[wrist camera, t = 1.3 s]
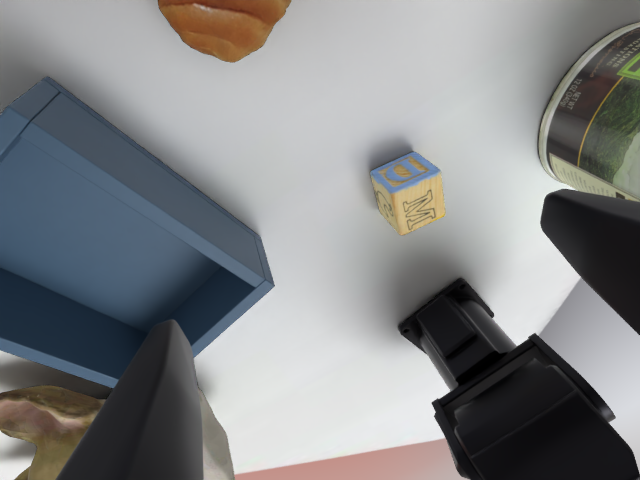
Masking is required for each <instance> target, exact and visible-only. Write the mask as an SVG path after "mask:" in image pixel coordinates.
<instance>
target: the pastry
mask: <svg viewBox="0 0 640 480" xmlns="http://www.w3.org/2000/svg"><path fill="white" fill-rule="evenodd" d="M291 1H292V0H158V5H159V9H160V11H161V12H162V14H163V15H164V16H165V18H166V19H167V20H168V22H169V23H170V25H171V27H172V28H173V29H174V30H175V31H176V32H177V33H178V34H179V35H180V37H181V39H182V41H183V42H184V43H186V44H187V45H189V46H190V47H191V48H193V49H196V50H198V51H200V52H202V53H204V54H208V55H212V56H214V57H216V58H218V59H220V60H223V61H226V62H236V61H238V60H241V59H242V58H243V57H245V56H247V55H249V54H250V53H251V52H254V51H256V50H258V49H259V48H261V47H262V46H263V45H264V43H265V41H266V39H267V37H268V36H269V34H270V33H271V31H272V29H273V26H274V25H275V23H276V22H278V21H279V20H280V19H281V18H282V17H283V16H284V15H285V12H286V8H287V7H288V6H289V4H290V3H291Z"/></svg>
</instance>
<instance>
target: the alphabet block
mask: <svg viewBox="0 0 640 480" xmlns="http://www.w3.org/2000/svg"><path fill="white" fill-rule="evenodd" d="M370 174H371V178H372V183H373V186H374V191H375V195H376V198H377V202H378V207H379V211H380V213H381V214H382V215H383V216H384V218H385V219H386V220H387V221H388V222H389V223H390V225H391V226H392V227H393V228H394V229H395V230H396V231H397V233H398V234H399V235H405V234H408V233H410V232H412V231H414V230H416V229H418V228H420V227H422V226H424V225H426V224H429V223H431V222H433V221H435V220H437V219H439V218H442V217H444V216H445V214H446V211H445V204H444V195H443V187H442V178H441V171H440V170H439V169H438V168H437V167H436V166H434V165H433V164H432V163H430V162H429V161H428V160H426V159H425V158H423V157H422V156H421V155H419V154H418V153H416V152H412V153H409V154H407V155H405V156H402V157H400V158H398V159H396V160H394V161H391V162H389V163H387V164H385V165H383V166H381V167H378V168H376V169H374V170H372V171H371V173H370Z"/></svg>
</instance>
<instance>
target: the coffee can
mask: <svg viewBox="0 0 640 480" xmlns="http://www.w3.org/2000/svg"><path fill="white" fill-rule="evenodd" d="M539 156H540V160H541V163H542V165H543V167H544V169H545V170H546V172H547V173H548V174H549V175H550V176H551V177H552V178H554V179H555V180H557V181H559V182H562V183H565V184H567V185H569V186H571V187H573V188H574V189H576V190H578V191H581V192H586V193H592V194H598V195H603V196H609V197H615V198H621V199H626V200H632V201H638V202H640V22H639V23H634V24H630V25H628V26H625V27H622V28H620V29H618V30H616V31H614V32H612V33H610V34H609V35H607V36H606V37H605V38H603V39H602V40H601V41H599V42H597V43H596V44H595V45H594V46H592V47H591V48H590V49H589V50H588V51H587V52H585V53H584V54H583V55H582V56H581V58H580V59H579V60H578V61H577V62H576V63H575V64H574V65H573V66H572V68H571V69H570V70H569V71H568V73H567V74H566V75H565V77H564V78H563V80H562V81H561V83H560V84H559V85H558V87H557V89H556V91H555V92H554V94H553V96H552V98H551V100H550V102H549V105H548V107H547V109H546V111H545V114H544V116H543V119H542V123H541V128H540V133H539Z"/></svg>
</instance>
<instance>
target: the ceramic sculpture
mask: <svg viewBox="0 0 640 480" xmlns="http://www.w3.org/2000/svg"><path fill="white" fill-rule="evenodd" d="M198 393H199V400H200V407H201V414H202V432H203V472H204V480H235V477H234V470H233V464H232V460H231V455H230V450H229V444H228V439H227V435H226V432H225V430H224V429H223V428H222V426H221V425H220V423H219V422H218V421H217V419H216V418H215V416H214V414H213V411H212V409H211V407H210V405H209V404H208V402H207V400H206V398H205V396H204V394H203V392H202V391H201V390H200V389H199V388H198ZM105 401H106V399H96V398H94V397H91V396H88V395H84V394H81V393H78V392H74V391H71V390H68V389H65V388H61V387H58V386H51V385H43V386H34V387H30V388H22V389H17V390H12V391H8V392H3V393H0V430H1V432H2V433H4V434H6V435H8V436H10V437H14V438H18V439H22V440H26V441H28V442H30V443H34V444H35V445H36V447H37V451H36V453H35V456H34V459H33V461H32V464H31V466H30V467H28V468H27V469H26V470H25V471H23V472H22V473H21V474H20V475H19V476H18V477H17V478H16V479H14V480H55V479H56V477H57V476H58V474H59V473H60V471H61V470H62V468H63V466H64V465H65V463H66V462H67V460H68V459H69V457H70V456H71V454H72V452H73V451H74V449H75V448H76V446H77V445H78V443H79V442H80V440H81V438H82V437H83V435H84V434H85V432H86V431H87V429H88V427H89V426H90V424H91V423H92V421H93V420H94V418H95V417H96V415H97V413H98V412H99V410H100V409H101V407H102V406H103V404H104V402H105Z"/></svg>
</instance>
